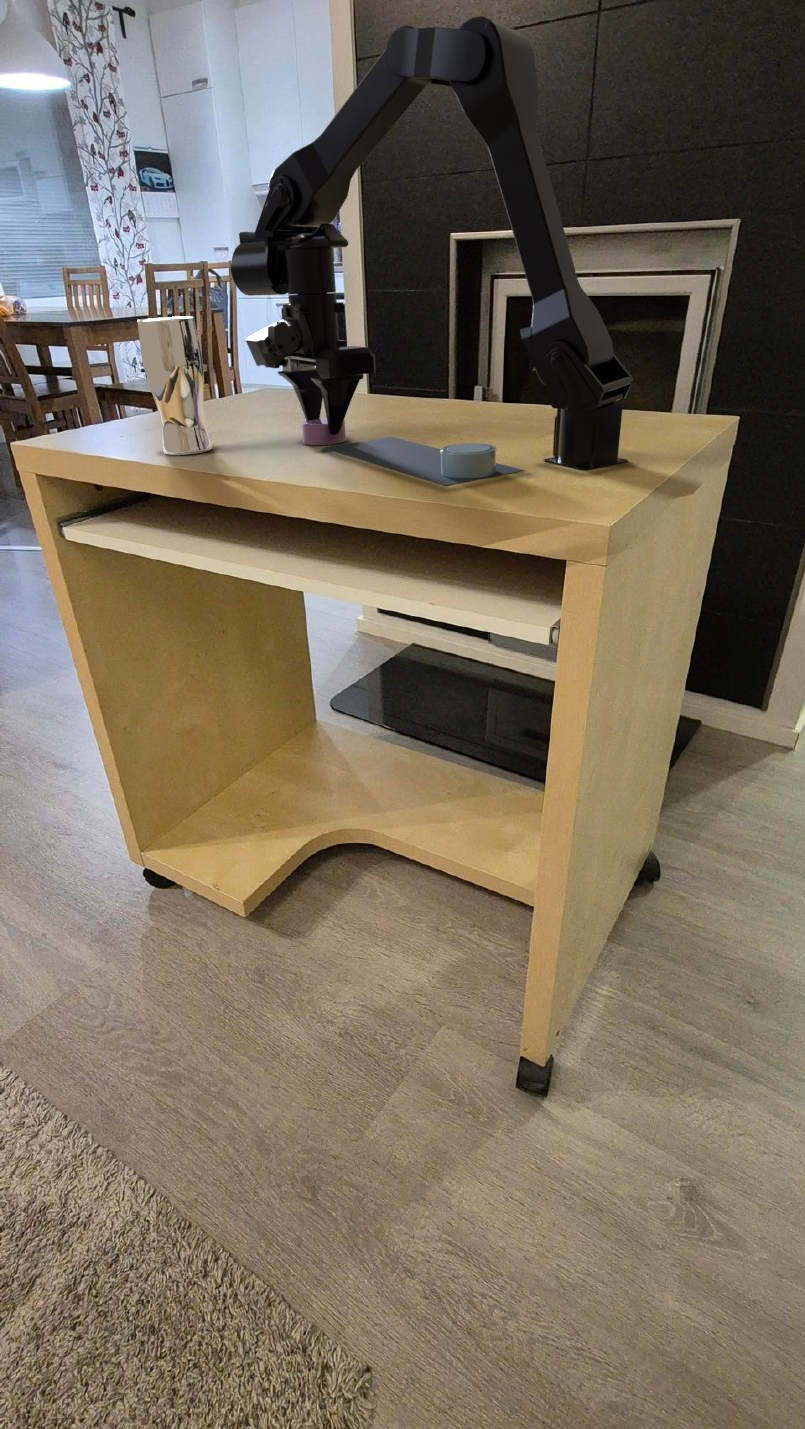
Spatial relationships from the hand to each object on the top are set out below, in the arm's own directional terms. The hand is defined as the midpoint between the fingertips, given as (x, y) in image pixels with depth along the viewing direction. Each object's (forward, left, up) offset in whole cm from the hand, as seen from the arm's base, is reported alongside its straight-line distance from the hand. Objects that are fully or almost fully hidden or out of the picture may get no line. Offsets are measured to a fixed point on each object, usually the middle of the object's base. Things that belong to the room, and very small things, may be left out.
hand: (323, 431), depth 100 cm
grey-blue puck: (-29, -2, -1) cm, 29 cm away
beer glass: (+7, +16, -1) cm, 18 cm away
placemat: (-19, -2, -1) cm, 19 cm away
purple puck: (0, 0, -1) cm, 1 cm away
